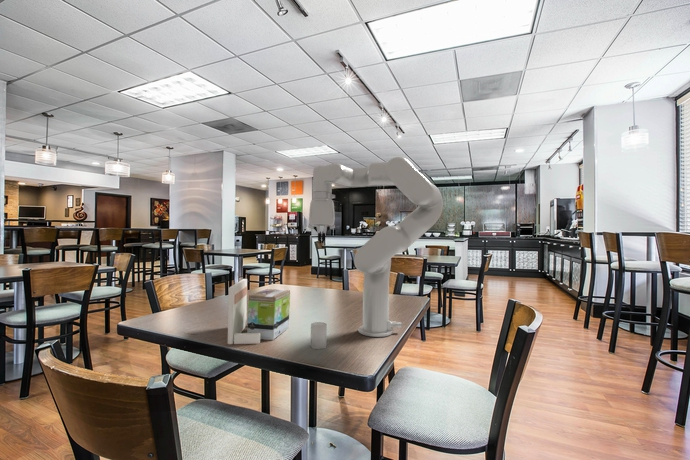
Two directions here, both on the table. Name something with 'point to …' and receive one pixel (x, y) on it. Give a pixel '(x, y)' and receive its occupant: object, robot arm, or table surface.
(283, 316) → the tea box
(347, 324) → the table surface
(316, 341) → the white cylinder
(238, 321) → the display stand
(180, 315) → the table surface
